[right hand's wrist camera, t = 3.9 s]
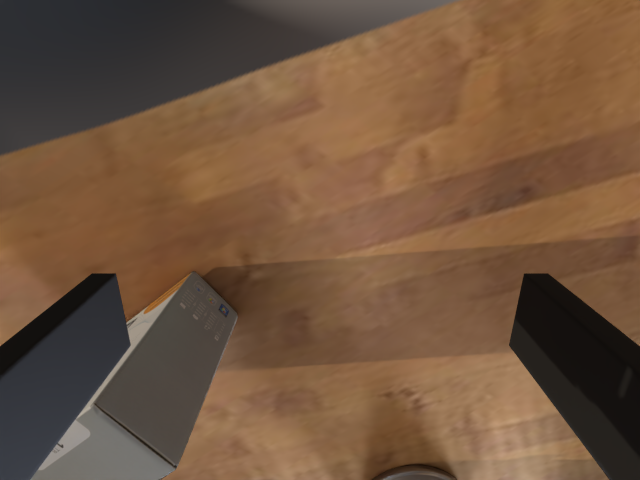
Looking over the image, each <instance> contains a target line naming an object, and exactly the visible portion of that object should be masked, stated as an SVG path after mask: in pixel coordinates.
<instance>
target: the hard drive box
mask: <svg viewBox="0 0 640 480" xmlns="http://www.w3.org/2000/svg"><path fill="white" fill-rule="evenodd" d="M237 319H238V316H237V313H236V312H235V311H234V310H233V308H232V307H231V306H230V305H228V304H227V303H226V301H225V300H223V299H222V298H221V297H220V296H219V295H218V294H217V293H216V292H215V291H214V290H213V289H212V288H211V287H210V286H209V285H208V284H207V283H206V282H205V281H204V280H203V279H202V278H201V277H200V276H199V275H198V274H197V273H196V272H195V271H193V272H191V273H190V274H189V275H187V276H186V277H185V278H183V279H182V280H181V281H180V282H178V283H177V284H176V285H174V286H173V287H172V288H171V289H169V290H168V291H167V292H165V293H164V294H163V295H162V296H160V297H159V298H158V299H156V300H155V301H154V302H153V303H151V304H150V305H149V306H148V307H146V308H145V309H144V310H142V311H141V312H140V313H139V314H137V315H136V316H135V317H133V318H132V319H131V320H129V321H128V322H127V323H126V324H127V329H128V334H129V339H130V343H131V346H130V347H129V349H128V350H127V351H126V353H125V354H124V355H123V357H122V358H121V359H120V361H119V362H118V363H117V365H116V366H115V367H114V369H113V370H112V371H111V373H110V374H109V375H108V377H107V378H106V379H105V381H104V382H103V383H102V385H101V386H100V387H99V389H98V390H97V391H96V393H95V394H94V395H93V397H92V398H91V399H90V401H89V402H88V403H87V405H86V406H85V407H84V409H83V410H82V411H81V413H80V414H79V415H78V417H77V418H76V419H75V421H74V422H73V423H72V425H71V426H70V427H69V429H68V430H67V431H66V433H65V434H64V435H63V437H62V438H61V439H60V441H59V442H58V443H57V445H56V446H55V447H54V449H53V450H52V451H51V453H50V454H49V455H48V457H47V458H46V459H45V461H44V462H43V463H42V465H41V466H40V467H39V469H38V470H37V471H36V473H35V474H34V475H33V477H32V478H31V479H30V480H161V479H162V478H164V477H165V476H167V475H168V474H170V473H171V472H173V471H174V470H176V468H177V466H178V464H179V462H180V459H181V457H182V455H183V452H184V450H185V447H186V445H187V443H188V440H189V437H190V435H191V432H192V430H193V427H194V425H195V422H196V420H197V417H198V415H199V412H200V410H201V407H202V405H203V402H204V400H205V397H206V395H207V392H208V390H209V388H210V385H211V383H212V380H213V378H214V375H215V373H216V370H217V368H218V365H219V363H220V361H221V358H222V356H223V353H224V351H225V348H226V346H227V343H228V341H229V338H230V336H231V334H232V331H233V329H234V326H235V324H236V321H237Z"/></svg>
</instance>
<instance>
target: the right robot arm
mask: <svg viewBox="0 0 640 480" xmlns="http://www.w3.org/2000/svg"><path fill="white" fill-rule="evenodd" d="M130 346H131V343H130V339H129V334H128V329H127V324H126V320H125V315H124V310H123V305H122V300H121V296H120V291H119V286H118V281H117V277H116V274H91V275H90V276H88V277H87V278H86V279H85V280H83V281H82V282H81V283H80V284H78V285H77V286H76V287H75V288H73V289H72V290H71V291H69V292H68V293H67V294H66V295H64V296H63V297H62V298H61V299H59V300H58V301H57V302H56V303H54V304H53V305H52V306H51V307H49V308H48V309H47V310H46V311H44V312H43V313H42V314H41V315H39V316H38V317H37V318H35V319H34V320H33V321H32V322H30V323H29V324H28V325H27V326H25V327H24V328H23V329H22V330H20V331H19V332H18V333H17V334H15V335H14V336H13V337H12V338H10V339H9V340H8V341H6V342H5V343H4V344H3V345H1V346H0V480H30V479H31V478H32V477H33V475H34V474H35V473H36V471H37V470H38V469H39V467H40V466H41V465H42V463H43V462H44V461H45V459H46V458H47V457H48V455H49V454H50V453H51V451H52V450H53V449H54V447H55V446H56V445H57V443H58V442H59V441H60V439H61V438H62V437H63V435H64V434H65V433H66V431H67V430H68V429H69V427H70V426H71V425H72V423H73V422H74V421H75V419H76V418H77V417H78V415H79V414H80V413H81V411H82V410H83V409H84V407H85V406H86V405H87V403H88V402H89V401H90V399H91V398H92V397H93V395H94V394H95V393H96V391H97V390H98V389H99V387H100V386H101V385H102V383H103V382H104V381H105V379H106V378H107V377H108V375H109V374H110V373H111V371H112V370H113V369H114V367H115V366H116V365H117V363H118V362H119V361H120V359H121V358H122V357H123V355H124V354H125V353H126V351H127V350H128V349H129V347H130ZM509 346H510V347H511V349H512V350H513V351H514V353H515V354H516V355H517V357H518V358H519V359H520V361H521V362H522V363H523V365H524V366H525V367H526V369H527V370H528V371H529V373H530V374H531V375H532V377H533V378H534V379H535V381H536V382H537V383H538V385H539V386H540V387H541V389H542V390H543V391H544V393H545V394H546V395H547V397H548V398H549V399H550V401H551V402H552V403H553V405H554V406H555V407H556V409H557V410H558V411H559V413H560V414H561V415H562V417H563V418H564V419H565V421H566V422H567V423H568V425H569V426H570V427H571V429H572V430H573V431H574V433H575V434H576V435H577V437H578V438H579V439H580V441H581V442H582V443H583V445H584V446H585V447H586V449H587V450H588V451H589V453H590V454H591V455H592V457H593V458H594V459H595V461H596V462H597V463H598V465H599V466H600V467H601V469H602V470H603V471H604V473H605V474H606V475H607V477H608V478H609V479H610V480H640V346H639V345H637V344H636V343H635V342H634V341H632V340H631V339H630V338H628V337H627V336H626V335H625V334H623V333H622V332H621V331H620V330H618V329H617V328H616V327H615V326H613V325H612V324H611V323H610V322H608V321H607V320H606V319H605V318H603V317H602V316H601V315H599V314H598V313H597V312H596V311H594V310H593V309H592V308H591V307H589V306H588V305H587V304H586V303H584V302H583V301H582V300H581V299H579V298H578V297H577V296H576V295H574V294H573V293H572V292H571V291H569V290H568V289H567V288H565V287H564V286H563V285H562V284H560V283H559V282H558V281H557V280H555V279H554V278H553V277H552V276H550V275H549V274H524V277H523V281H522V286H521V291H520V296H519V300H518V305H517V310H516V315H515V320H514V324H513V329H512V334H511V339H510V343H509ZM373 480H456V479H455V478H454V477H453V476H451V475H450V474H448V473H447V472H445V471H443V470H440V469H437V468H434V467H429V466H422V465H410V466H403V467H398V468H394V469H391V470H388V471H386V472H384V473H382V474H380V475H378V476H377V477H375V478H374V479H373Z"/></svg>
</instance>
